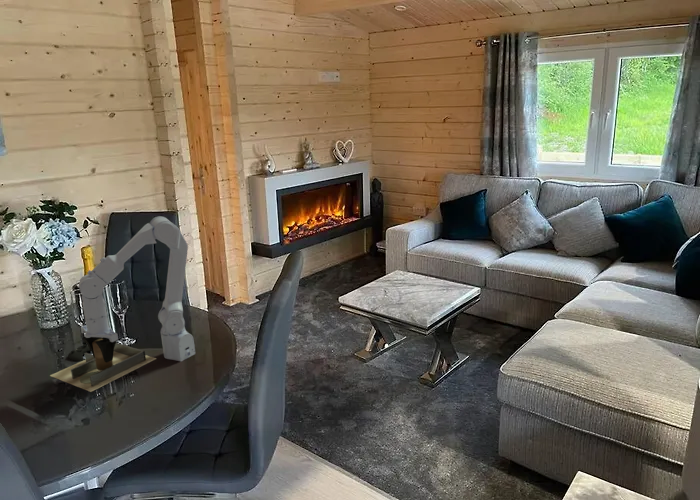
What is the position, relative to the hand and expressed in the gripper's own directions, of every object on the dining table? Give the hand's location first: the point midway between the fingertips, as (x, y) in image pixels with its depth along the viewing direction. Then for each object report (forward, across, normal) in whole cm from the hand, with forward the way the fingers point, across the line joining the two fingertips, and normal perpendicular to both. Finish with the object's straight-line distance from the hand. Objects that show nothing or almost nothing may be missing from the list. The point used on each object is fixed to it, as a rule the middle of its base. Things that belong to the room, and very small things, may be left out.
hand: (103, 359), depth 153 cm
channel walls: (+4, -3, +2) cm, 5 cm away
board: (+5, -3, +2) cm, 6 cm away
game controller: (+6, -17, +4) cm, 19 cm away
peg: (+2, 0, 0) cm, 2 cm away
